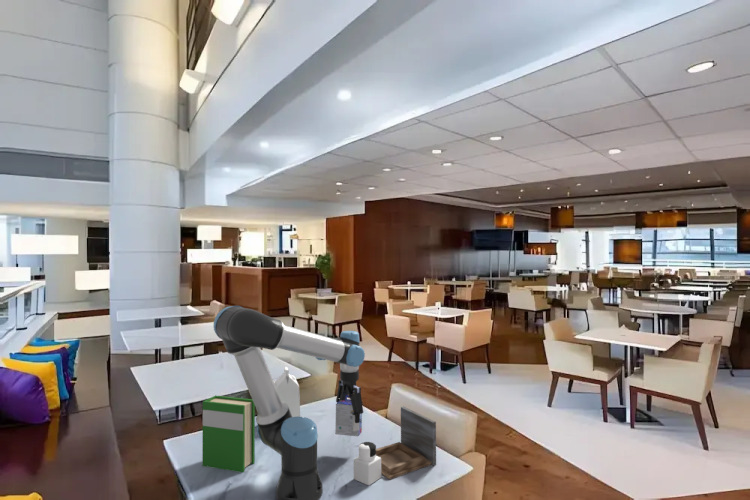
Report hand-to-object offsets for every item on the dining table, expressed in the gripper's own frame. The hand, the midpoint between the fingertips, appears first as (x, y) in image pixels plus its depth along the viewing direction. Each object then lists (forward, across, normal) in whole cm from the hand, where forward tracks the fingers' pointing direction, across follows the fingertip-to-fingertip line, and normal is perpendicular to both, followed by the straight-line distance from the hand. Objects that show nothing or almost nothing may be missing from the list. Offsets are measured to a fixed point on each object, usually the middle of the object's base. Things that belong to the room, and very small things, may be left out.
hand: (348, 426), depth 170 cm
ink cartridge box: (+3, 0, 0) cm, 3 cm away
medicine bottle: (+11, -21, +4) cm, 24 cm away
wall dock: (+10, -17, -12) cm, 23 cm away
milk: (+11, +42, +9) cm, 44 cm away
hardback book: (+12, +17, +42) cm, 47 cm away
